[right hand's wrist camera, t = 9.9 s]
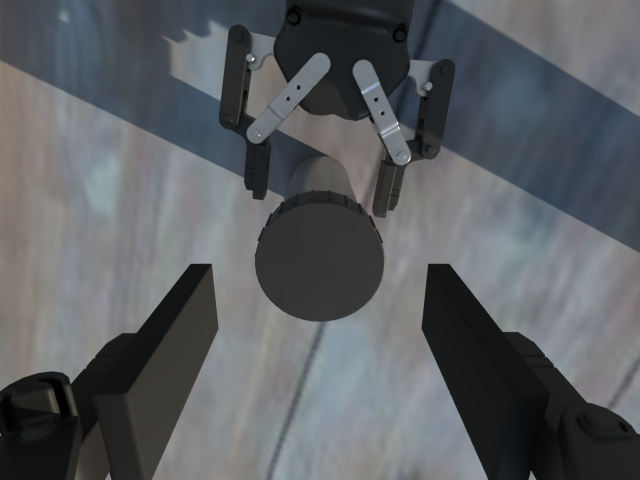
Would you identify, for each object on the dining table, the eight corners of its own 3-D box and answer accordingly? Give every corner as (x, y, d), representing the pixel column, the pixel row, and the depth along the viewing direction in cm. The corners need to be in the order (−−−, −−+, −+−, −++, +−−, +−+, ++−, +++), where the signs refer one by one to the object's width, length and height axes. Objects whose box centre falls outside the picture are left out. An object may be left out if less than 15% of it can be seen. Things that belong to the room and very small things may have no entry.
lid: (399, 266, 20) (409, 287, 17) (299, 317, 21) (297, 343, 18) (343, 165, 18) (346, 175, 16) (237, 226, 19) (226, 243, 17)
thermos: (358, 194, 34) (393, 279, 18) (309, 221, 35) (301, 326, 19) (330, 144, 32) (341, 188, 16) (280, 173, 33) (243, 243, 17)
